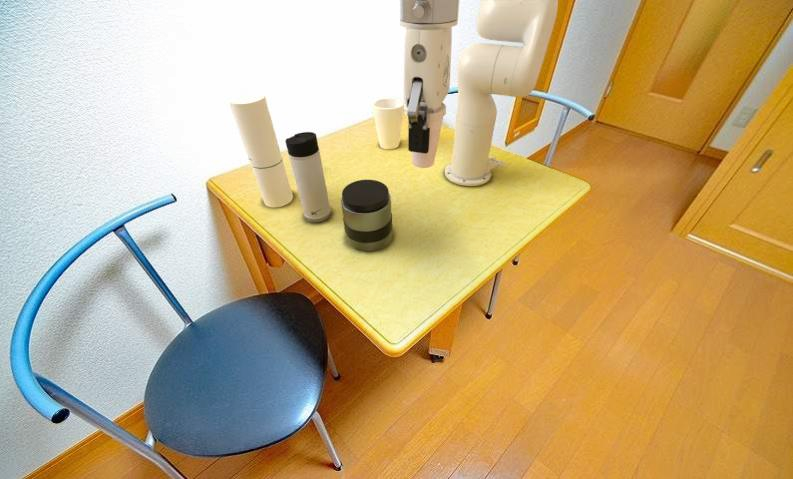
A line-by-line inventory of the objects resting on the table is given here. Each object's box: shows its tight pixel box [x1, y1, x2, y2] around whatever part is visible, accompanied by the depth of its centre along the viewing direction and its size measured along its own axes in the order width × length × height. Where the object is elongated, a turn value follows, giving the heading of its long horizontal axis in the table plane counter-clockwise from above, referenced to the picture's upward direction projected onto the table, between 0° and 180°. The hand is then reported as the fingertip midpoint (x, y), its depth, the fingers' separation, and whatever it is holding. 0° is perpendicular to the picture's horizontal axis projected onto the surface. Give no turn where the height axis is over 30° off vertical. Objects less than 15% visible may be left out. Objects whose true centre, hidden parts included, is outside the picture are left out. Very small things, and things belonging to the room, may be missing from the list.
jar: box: [340, 179, 393, 252], centre depth 68 cm, size 10×10×12 cm
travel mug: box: [285, 131, 332, 224], centre depth 71 cm, size 6×7×20 cm
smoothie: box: [404, 102, 447, 169], centre depth 52 cm, size 6×6×14 cm
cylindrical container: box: [227, 91, 294, 208], centre depth 74 cm, size 7×7×25 cm
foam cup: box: [371, 97, 405, 150], centre depth 100 cm, size 10×9×13 cm
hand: (424, 141), depth 54 cm, fingers closed on smoothie, 6 cm apart
